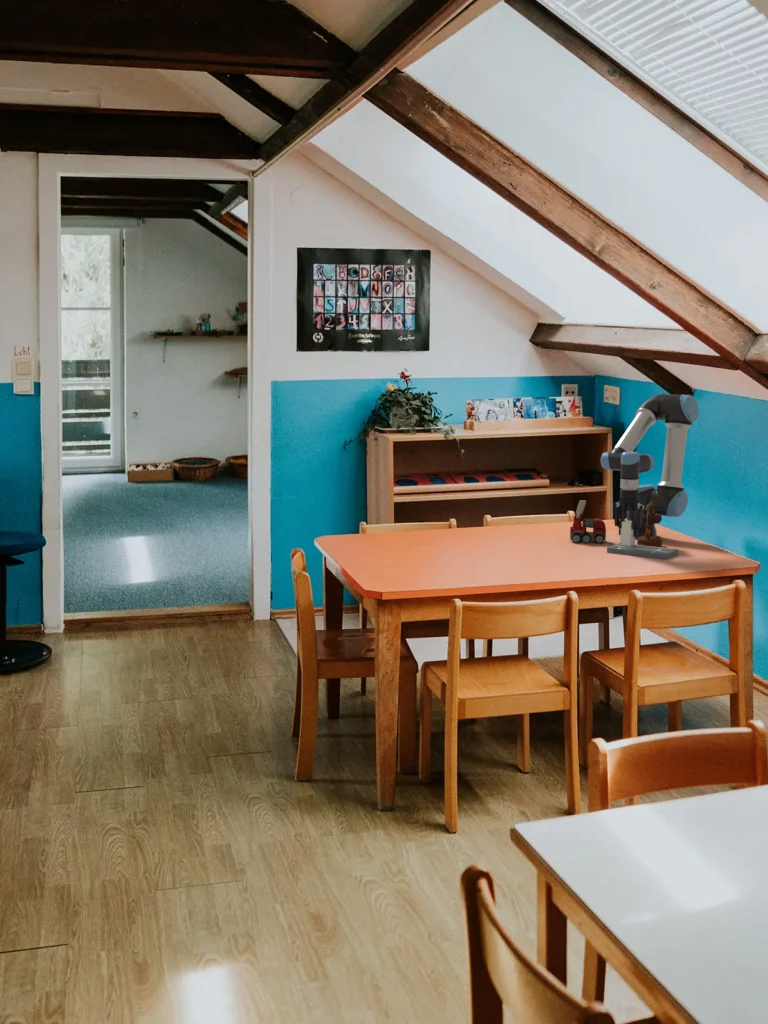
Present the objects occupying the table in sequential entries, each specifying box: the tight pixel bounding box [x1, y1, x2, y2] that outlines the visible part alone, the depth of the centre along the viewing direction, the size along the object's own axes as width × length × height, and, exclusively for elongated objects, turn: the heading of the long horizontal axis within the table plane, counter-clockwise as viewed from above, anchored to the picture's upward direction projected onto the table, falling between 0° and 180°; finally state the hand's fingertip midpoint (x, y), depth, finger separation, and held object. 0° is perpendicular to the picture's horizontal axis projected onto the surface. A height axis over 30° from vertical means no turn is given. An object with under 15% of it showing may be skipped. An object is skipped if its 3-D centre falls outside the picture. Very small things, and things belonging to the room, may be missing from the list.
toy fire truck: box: [569, 499, 607, 545], centre depth 493 cm, size 11×16×18 cm
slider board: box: [606, 542, 679, 560], centre depth 467 cm, size 13×26×3 cm, turn 53°
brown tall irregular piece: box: [636, 501, 663, 548], centre depth 481 cm, size 15×11×20 cm
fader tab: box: [620, 519, 637, 547], centre depth 469 cm, size 5×5×11 cm
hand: (627, 543), depth 470 cm, fingers closed on fader tab, 4 cm apart
